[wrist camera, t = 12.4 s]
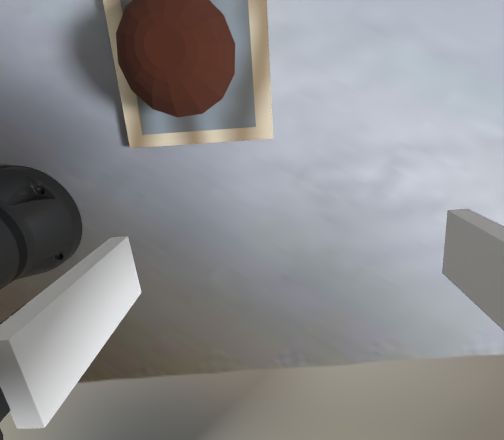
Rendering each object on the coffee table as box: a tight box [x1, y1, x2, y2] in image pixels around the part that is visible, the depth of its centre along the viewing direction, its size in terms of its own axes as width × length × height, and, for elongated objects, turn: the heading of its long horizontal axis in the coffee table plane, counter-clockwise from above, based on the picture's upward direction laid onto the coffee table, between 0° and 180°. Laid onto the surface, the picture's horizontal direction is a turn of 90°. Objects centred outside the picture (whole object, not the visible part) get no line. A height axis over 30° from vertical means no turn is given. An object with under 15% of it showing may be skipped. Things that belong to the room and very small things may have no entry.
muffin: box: [116, 0, 235, 117], centre depth 32 cm, size 12×11×10 cm
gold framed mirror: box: [103, 0, 273, 148], centre depth 38 cm, size 18×18×2 cm
